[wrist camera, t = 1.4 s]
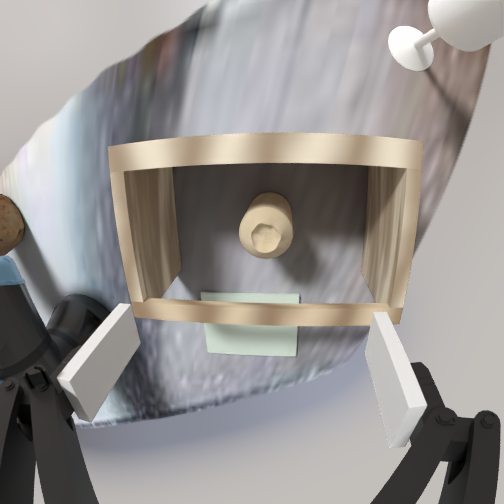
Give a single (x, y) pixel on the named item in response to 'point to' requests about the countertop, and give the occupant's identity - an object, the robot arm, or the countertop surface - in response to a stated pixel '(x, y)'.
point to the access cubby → (264, 151)
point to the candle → (267, 226)
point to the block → (9, 225)
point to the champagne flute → (449, 30)
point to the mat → (251, 329)
